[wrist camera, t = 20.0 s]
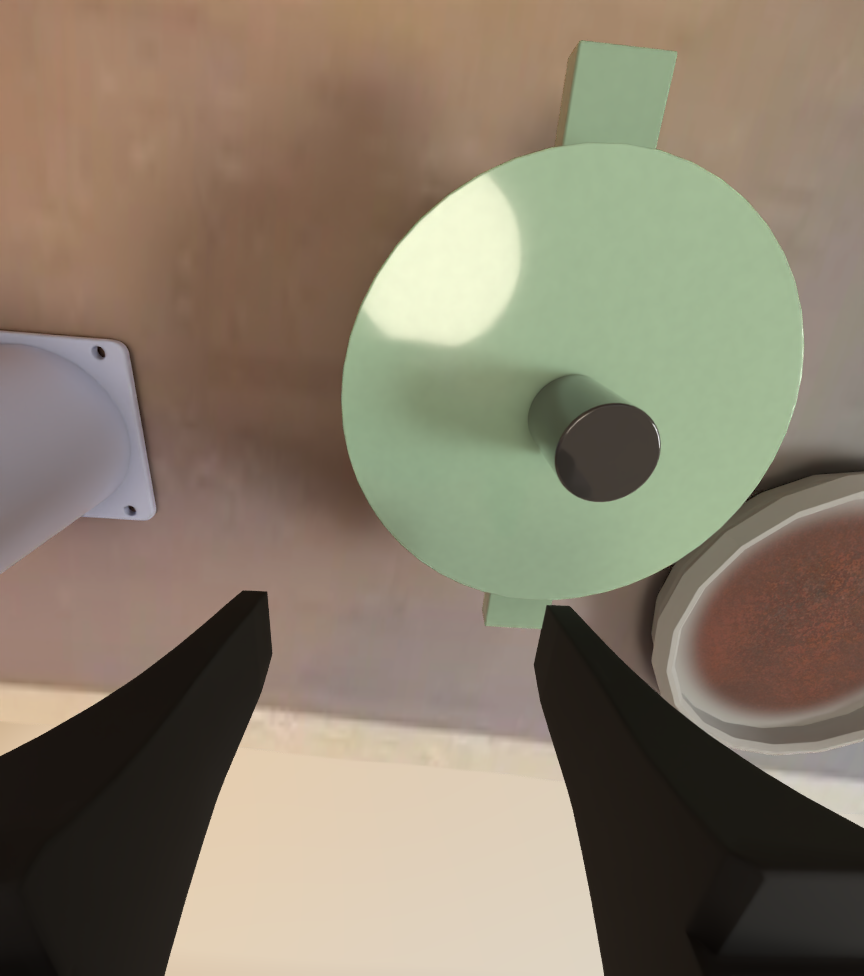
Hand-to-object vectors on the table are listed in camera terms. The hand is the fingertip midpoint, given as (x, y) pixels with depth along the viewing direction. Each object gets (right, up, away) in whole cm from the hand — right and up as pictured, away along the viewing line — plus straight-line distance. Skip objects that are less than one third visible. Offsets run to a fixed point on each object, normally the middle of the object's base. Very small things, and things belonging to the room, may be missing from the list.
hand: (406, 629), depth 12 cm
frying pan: (+26, -3, +13) cm, 29 cm away
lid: (+5, +6, +2) cm, 8 cm away
